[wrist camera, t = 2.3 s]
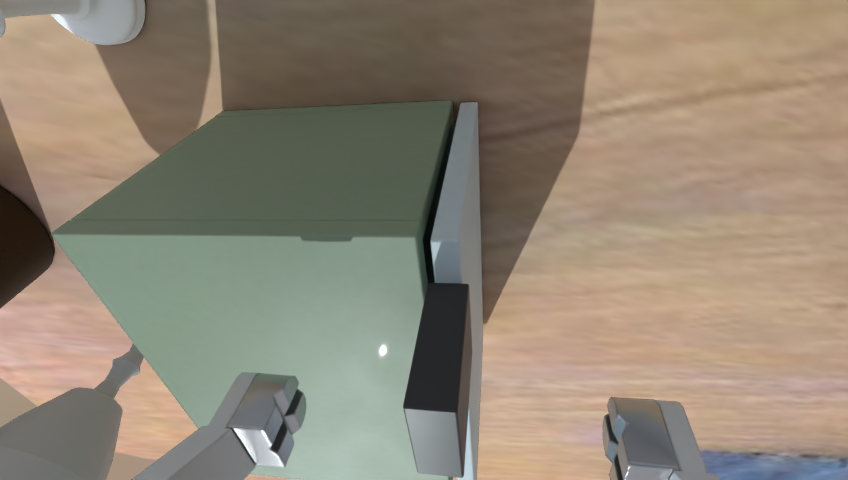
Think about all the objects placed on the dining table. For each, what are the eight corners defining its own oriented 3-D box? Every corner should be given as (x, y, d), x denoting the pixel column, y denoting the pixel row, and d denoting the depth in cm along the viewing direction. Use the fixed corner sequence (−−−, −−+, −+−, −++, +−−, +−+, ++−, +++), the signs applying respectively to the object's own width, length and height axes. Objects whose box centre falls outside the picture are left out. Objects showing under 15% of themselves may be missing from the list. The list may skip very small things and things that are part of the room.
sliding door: (482, 101, 20) (453, 367, 8) (486, 335, 29) (476, 611, 18) (456, 102, 20) (392, 363, 8) (468, 334, 29) (446, 606, 18)
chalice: (144, 303, 33) (-124, 595, 19) (135, 239, 29) (-216, 551, 15) (236, 333, 34) (44, 638, 20) (241, 274, 30) (1, 607, 15)
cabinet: (452, 99, 20) (416, 235, 12) (465, 329, 30) (451, 497, 21) (221, 110, 22) (48, 233, 14) (303, 322, 32) (230, 472, 23)
